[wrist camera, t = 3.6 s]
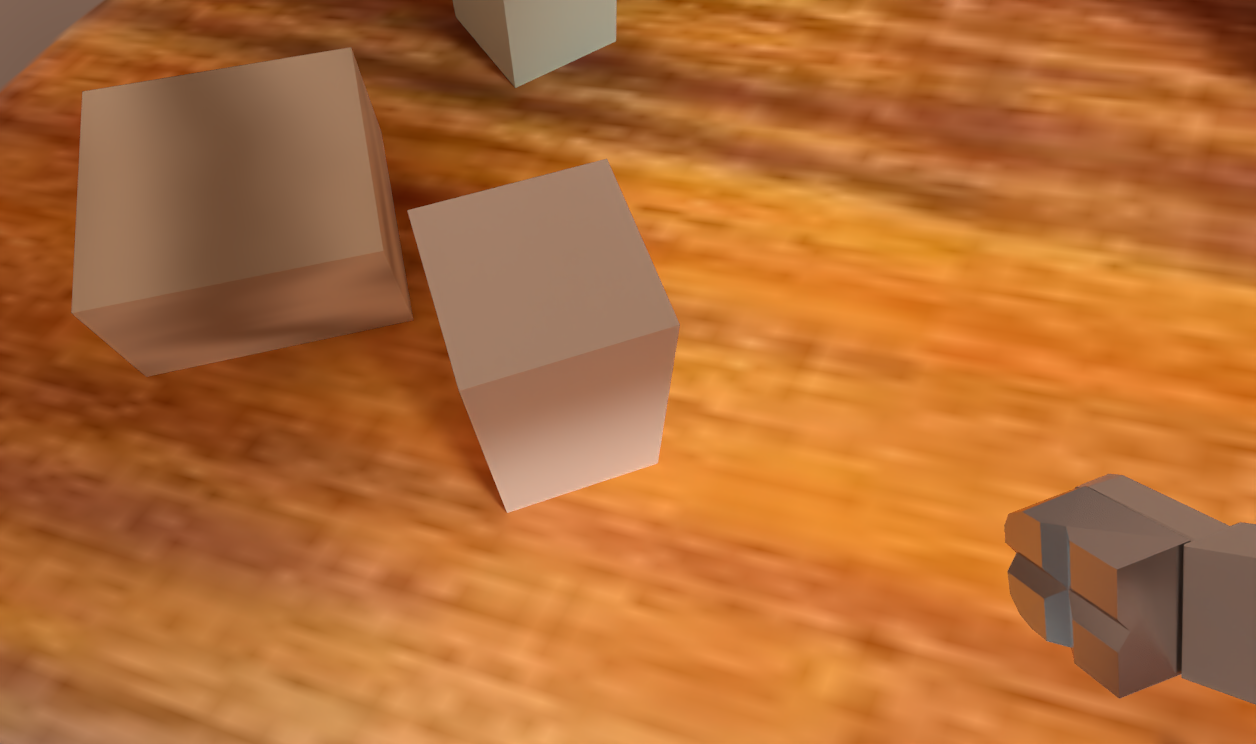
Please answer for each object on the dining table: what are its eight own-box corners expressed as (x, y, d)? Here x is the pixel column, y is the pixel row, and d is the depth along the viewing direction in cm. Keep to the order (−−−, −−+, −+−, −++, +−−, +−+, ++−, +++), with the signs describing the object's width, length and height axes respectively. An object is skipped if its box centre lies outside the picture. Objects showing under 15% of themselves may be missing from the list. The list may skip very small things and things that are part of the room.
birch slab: (383, 137, 29) (351, 47, 25) (415, 324, 25) (383, 250, 22) (150, 179, 28) (82, 91, 24) (151, 381, 24) (71, 313, 21)
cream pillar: (607, 334, 25) (606, 158, 18) (657, 463, 23) (679, 324, 16) (466, 376, 24) (407, 210, 17) (506, 512, 22) (458, 390, 15)
